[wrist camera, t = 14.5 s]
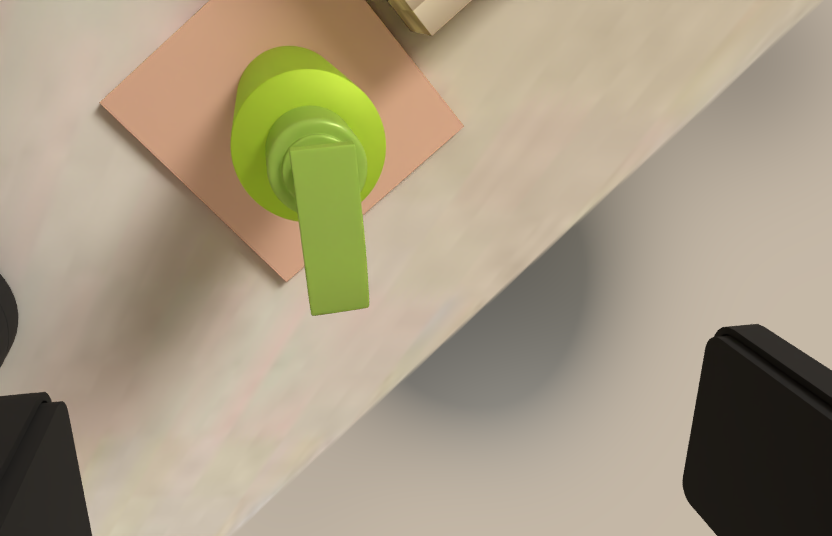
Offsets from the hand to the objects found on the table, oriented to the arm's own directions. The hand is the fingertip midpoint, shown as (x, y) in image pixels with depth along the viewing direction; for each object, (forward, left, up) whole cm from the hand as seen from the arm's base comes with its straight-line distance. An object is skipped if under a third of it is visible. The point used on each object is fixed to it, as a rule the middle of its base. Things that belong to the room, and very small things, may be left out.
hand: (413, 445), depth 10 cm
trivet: (0, 0, -32) cm, 32 cm away
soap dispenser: (0, 0, -32) cm, 32 cm away
